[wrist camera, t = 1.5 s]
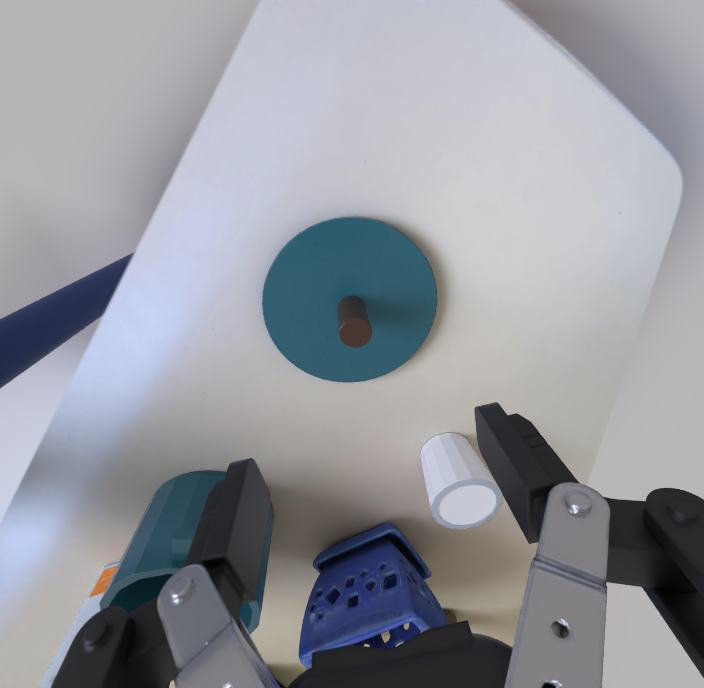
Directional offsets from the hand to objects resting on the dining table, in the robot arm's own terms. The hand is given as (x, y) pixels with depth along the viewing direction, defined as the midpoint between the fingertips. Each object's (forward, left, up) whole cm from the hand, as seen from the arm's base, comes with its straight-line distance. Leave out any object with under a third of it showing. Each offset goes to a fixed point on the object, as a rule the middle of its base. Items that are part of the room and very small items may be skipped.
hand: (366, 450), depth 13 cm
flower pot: (+11, -35, -20) cm, 42 cm away
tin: (-9, -30, -20) cm, 37 cm away
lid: (+1, -2, -19) cm, 19 cm away
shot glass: (+15, -17, -20) cm, 30 cm away
